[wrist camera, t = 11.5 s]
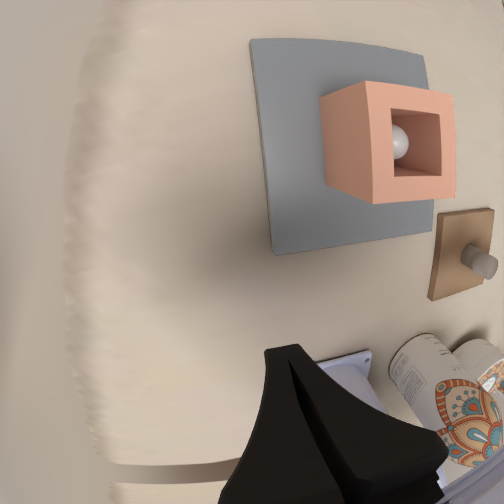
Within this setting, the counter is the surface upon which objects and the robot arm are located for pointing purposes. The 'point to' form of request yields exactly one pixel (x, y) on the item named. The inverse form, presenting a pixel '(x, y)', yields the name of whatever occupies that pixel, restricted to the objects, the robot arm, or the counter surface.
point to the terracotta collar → (389, 142)
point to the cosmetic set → (454, 393)
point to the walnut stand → (462, 252)
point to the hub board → (311, 142)
